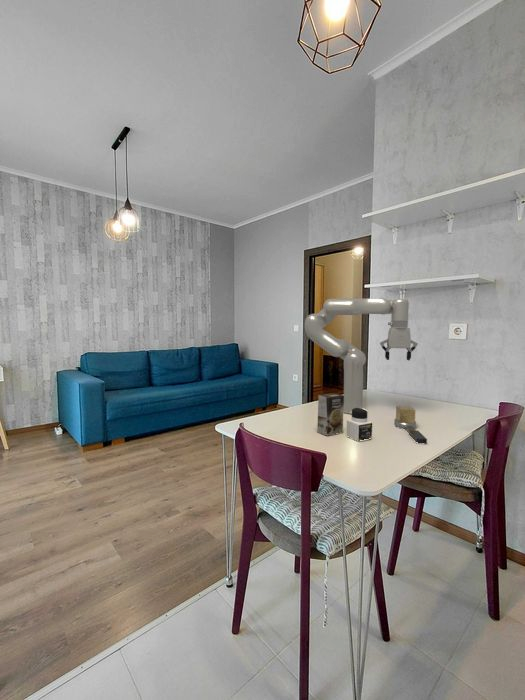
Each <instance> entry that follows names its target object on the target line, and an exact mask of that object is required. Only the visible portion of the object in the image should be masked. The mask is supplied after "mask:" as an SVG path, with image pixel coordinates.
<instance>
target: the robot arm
mask: <svg viewBox="0 0 525 700" xmlns="http://www.w3.org/2000/svg"><path fill="white" fill-rule="evenodd" d="M409 303H410V302H409V300H408V299H405V298H397V299H387V298H383V297H380V298H376V297H375V298H373V297H371V298H368V297H367V298H359V297H358V298H328V299H326V300H325V301H324V303H323V304H322V309H321V310H320V311H318V312H317V313H310V314H309V315H307V316H306V317H305V320H304V330H305V331H304V332H305V334H306V336H307V337H308V339H310V340H311V341H312V342H313V343H315V344H316V345H317V346H319V348H321V349H323V350H324V351H326V352H327V353H328V354H330V355H331V356H332V357H335V358H340V359H341V360H343V395H344V409H343V412H345V413H344V414H347V413H350V414H349V415H352V409H354V408H363V397H364V396H363V395H364V394H363V393H364V365H365V364H366V361H367V358H366V354H365V353H364V352H363V351H362V350H360V349H359V348H358V347H356V346H354V345H353V344H351V343H350V342H349V341H347V340H345V339H343V338H337V337H335V336H334V335H332V334H331V333H330V332H328V331H326V330H325V329H324V328H325V327H326V326H327V325H329V324H330V322H332V321H333V320H335V318H337V316H357V315H384V316H385V315H390V316H391V319H390V320H391V321H390V322H387V325H388V326H390V327H389V329H388V333H387V338H386V339H385V340H382V341H380V342H379V345H380V346H381V348H382V350H384V352H385V353H384V355H385V359H386V360H387V361H390V350H391V349H406V361H410V360H411V358H412V352H414V350H415V349H416V348H417V346H418V343H417V342H416V341H414V340H412V339H411V328H410V327H409V307H410V306H409ZM385 344H386V346H385ZM411 344H412V345H411ZM411 346H412V347H411Z"/></svg>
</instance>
